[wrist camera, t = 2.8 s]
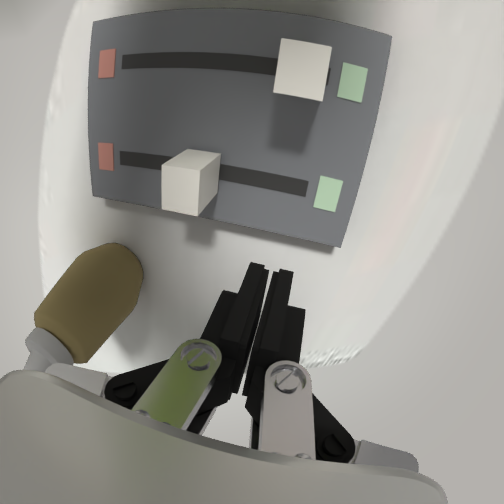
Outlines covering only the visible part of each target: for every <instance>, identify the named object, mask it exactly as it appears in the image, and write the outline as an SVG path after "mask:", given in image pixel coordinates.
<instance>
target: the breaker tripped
mask: <svg viewBox="0 0 504 504" xmlns="http://www.w3.org/2000/svg"><path fill="white" fill-rule="evenodd" d="M220 158H221V154H220V153H214V152H207V151H200V150H192V149H187V150H185V151H183V152H182V153H180V154H178V155H177V156H175V157H173V158H172V159H170V160H169V161H167V162H165V163H164V164H162V182H161V188H162V209H163V210H168V211H173V212H178V213H183V214H188V215H193V216H198V215H199V214H200V213H201V212H202V211H203V209H204V208H205V207H206V206H207V205H208V203H209V202H210V201H211V200H212V199H213V197H214V196H215V195H216V194H217V192H218V180H219V169H220Z"/></svg>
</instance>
